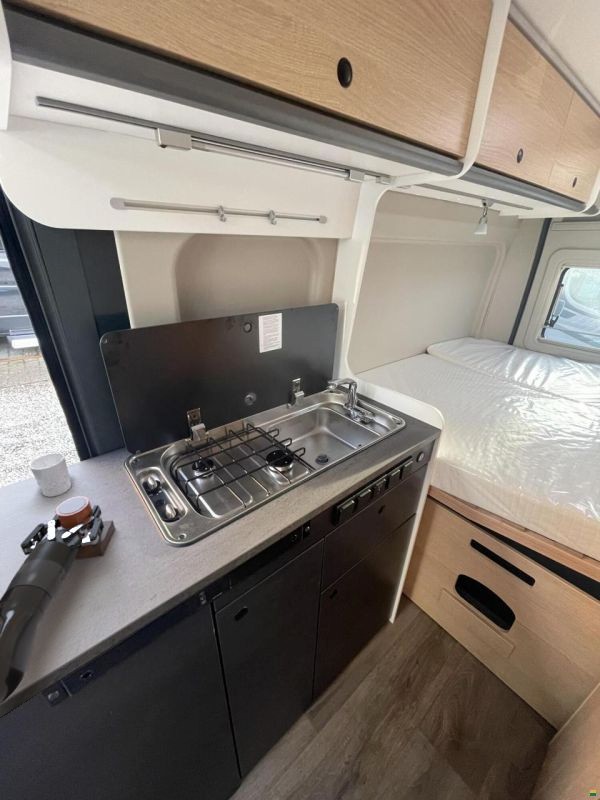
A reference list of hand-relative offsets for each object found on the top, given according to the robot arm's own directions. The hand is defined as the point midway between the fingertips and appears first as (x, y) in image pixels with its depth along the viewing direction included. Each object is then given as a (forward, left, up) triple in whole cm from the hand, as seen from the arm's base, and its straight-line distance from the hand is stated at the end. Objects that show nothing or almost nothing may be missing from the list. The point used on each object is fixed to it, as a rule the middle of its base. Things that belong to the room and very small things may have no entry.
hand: (81, 509), depth 75 cm
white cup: (-17, +21, -10) cm, 29 cm away
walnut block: (0, -2, -10) cm, 10 cm away
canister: (0, -2, -6) cm, 6 cm away
